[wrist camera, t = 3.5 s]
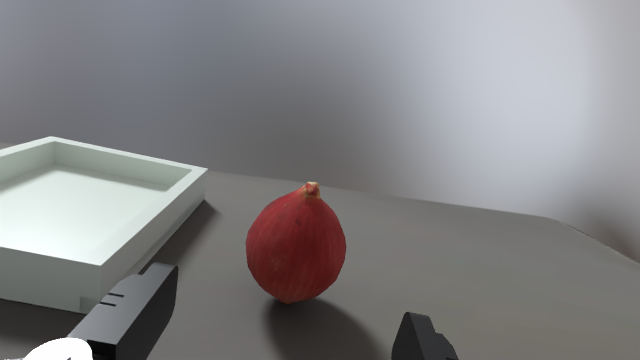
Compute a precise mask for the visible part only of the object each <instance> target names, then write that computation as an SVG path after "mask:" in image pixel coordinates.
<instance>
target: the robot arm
mask: <svg viewBox="0 0 640 360" xmlns="http://www.w3.org/2000/svg"><path fill="white" fill-rule="evenodd" d="M177 280H178V266H174V265H169V264H164V263H159V262H154V263H153V264H152V265H151V266H150V267H149V268H148V269H147V270H146V272H145V273H144V274H143V275H139V274H132V275H130V276H128V277H127V278H125V279H123V280H121V281H119V282H118V283H117V284H116V285H115V286H114V287H113V288H112V289H111V290H110V291H109V293H108V295H106V296H105V297H104V298H103V299H102V300H101V301H100V303H99V304H97V305H96V306H95V307H94V308H93V309H92V310H91V311H90V313H89V314H88V315H87V316H86V317H85V318H84V319H83V320H82V321H81V322H80V323H79V324H78V325H77V326H76V327H75V328H74V329H73V330H72V331H71V333H70V334H69V335H68V336H67V337H66V338H65V339H59V340H55V341H51V342H49V343H46V344H44V345H42V346H40V347H38V348H37V349H35V350H34V351H32V352H31V353H30V354H29V355H28V356H27V357H26V358H20V359H9V360H146V359H147V357H148V355H149V354H150V352H151V350H152V349H153V347H154V345H155V344H156V342H157V341H158V339H159V337H160V336H161V334H162V332H163V331H164V329H165V327H166V326H167V324H168V322H169V321H170V318H171V316H172V313H173V310H174V306H175V300H176V290H177ZM391 360H459V359H458V357H457V355H456V353H455V350H454V348H453V346H452V345H451V344H450V343H449V342H448V340H447V339H446V338H445V337H444V336H443V335H442V334H439V333H436V332H435V330H434V327H433V325H432V322H431V320H430V318H429V316H426V315H421V314H416V313H411V312H406V313H405V314H404V316H403V319H402V322H401V325H400V328H399V330H398V333H397V336H396V339H395V342H394V344H393V348H392V356H391Z"/></svg>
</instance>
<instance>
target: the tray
mask: <svg viewBox="0 0 640 360" xmlns="http://www.w3.org/2000/svg"><path fill="white" fill-rule="evenodd" d="M207 173H208V169H206V168H201V167H197V166H191V165H187V164H182V163H177V162H172V161H168V160H163V159H158V158H153V157H148V156H144V155H139V154H134V153H129V152H124V151H120V150H114V149H110V148H105V147H100V146H95V145H91V144H86V143H81V142H76V141H71V140H66V139H62V138H57V137H52V136H50V137H47V138H43V139H39V140H35V141H32V142H28V143H24V144H20V145H17V146H13V147H9V148H6V149H2V150H0V298H2V299H7V300H13V301H18V302H24V303H29V304H35V305H40V306H45V307H51V308H56V309H62V310H67V311H73V312H78V313H84V314H89V313H90V311H91V310H92V309H93V308H94V307H95V306H96V305H97V304H99V303H100V301H101V300H102V299H103V298H104V297H105V296H106V295H108V293H109V291H110V290H111V289H112V288H113V287H114V286H115V285H116V284H117V283H118V282H119V281H121V280H123V279H125V278H127V277H128V276H130V275H132V274H138V273H139V272H140V271H141V270H142V269H143V267H144V266H145V265H146V264H147V263H148V262H149V261H150V260H151V258H152V257H153V256H154V255H155V254H156V253H157V252H158V251H159V249H160V248H161V247H162V246H163V245H164V244H165V243H166V242H167V240H168V239H169V238H170V237H171V236H172V235H173V234H174V233H175V231H176V230H177V229H178V228H179V227H180V226H181V225H182V224H183V223H184V221H185V220H186V219H187V218H188V217H189V216H190V215H191V214H192V212H193V211H194V210H195V209H196V208H197V207H198V206H199V205H200V203H201V202H202V201H203V200H204V199H205V190H206V182H207Z"/></svg>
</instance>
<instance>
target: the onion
mask: <svg viewBox="0 0 640 360" xmlns="http://www.w3.org/2000/svg"><path fill="white" fill-rule="evenodd" d="M345 253H346V242H345V236H344V233H343V230H342V228H341V225H340V223H339V220H338V218H337V216H336V214H335V213H334V211H333V210H332V209H331V208H330V207H329V206H328V205H327V204H326V203H325V202H324V201H323V200H322V199H321V198H320V191H319V184H318V183H316V182H308V183H307V184H306V185H305V186H303V187H301V188H299V189H298V190H296V191H294V192H291V193H289V194H287V195H284V196H282V197H280V198H278V199H276V200H274V201H273V202H271V203H270V204H269V205H267V206H266V207H265V208H264V209H263V211H262V212H261V213H260V214H259V216H258V217H257V219H256V220H255V221H254V223H253V225H252V226H251V228H250V229H249V231H248V235H247V239H246V255H247V263H248V268H249V270H250V271H251V273H252V275H253V277H254V279H255V280H256V281H257V283H258V284H259V285H260V287H262V288H263V289H264V290H265V291H266V292H268V293H269V294H271V295H272V296H274V297H275V298H277V299H278V300H279V301H280V302H282V303H285V304H291V303H294V302H297V301H303V300H308V299H311V298H313V297H316V296H318V295H320V294H321V293H322V292H324V291H325V290H326V289H327V288H328V287H329V286H330V285H331V284H333V283H334V282H335V281H336V279H337V277H338V275H339V273H340V270H341V268H342V265H343V263H344V260H345Z"/></svg>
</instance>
